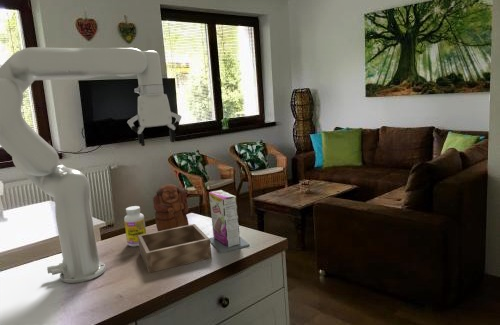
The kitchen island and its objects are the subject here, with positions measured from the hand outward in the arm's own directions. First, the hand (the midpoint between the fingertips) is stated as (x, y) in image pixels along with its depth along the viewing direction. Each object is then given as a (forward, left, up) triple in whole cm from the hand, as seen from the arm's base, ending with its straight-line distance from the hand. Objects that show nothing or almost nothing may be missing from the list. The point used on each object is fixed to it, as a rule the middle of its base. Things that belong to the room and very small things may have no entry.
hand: (157, 143), depth 136 cm
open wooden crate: (-1, -12, -34) cm, 36 cm away
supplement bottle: (-10, +6, -34) cm, 36 cm away
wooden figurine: (+4, +10, -34) cm, 36 cm away
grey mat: (+17, -12, -34) cm, 40 cm away
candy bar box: (+16, -12, -34) cm, 40 cm away
